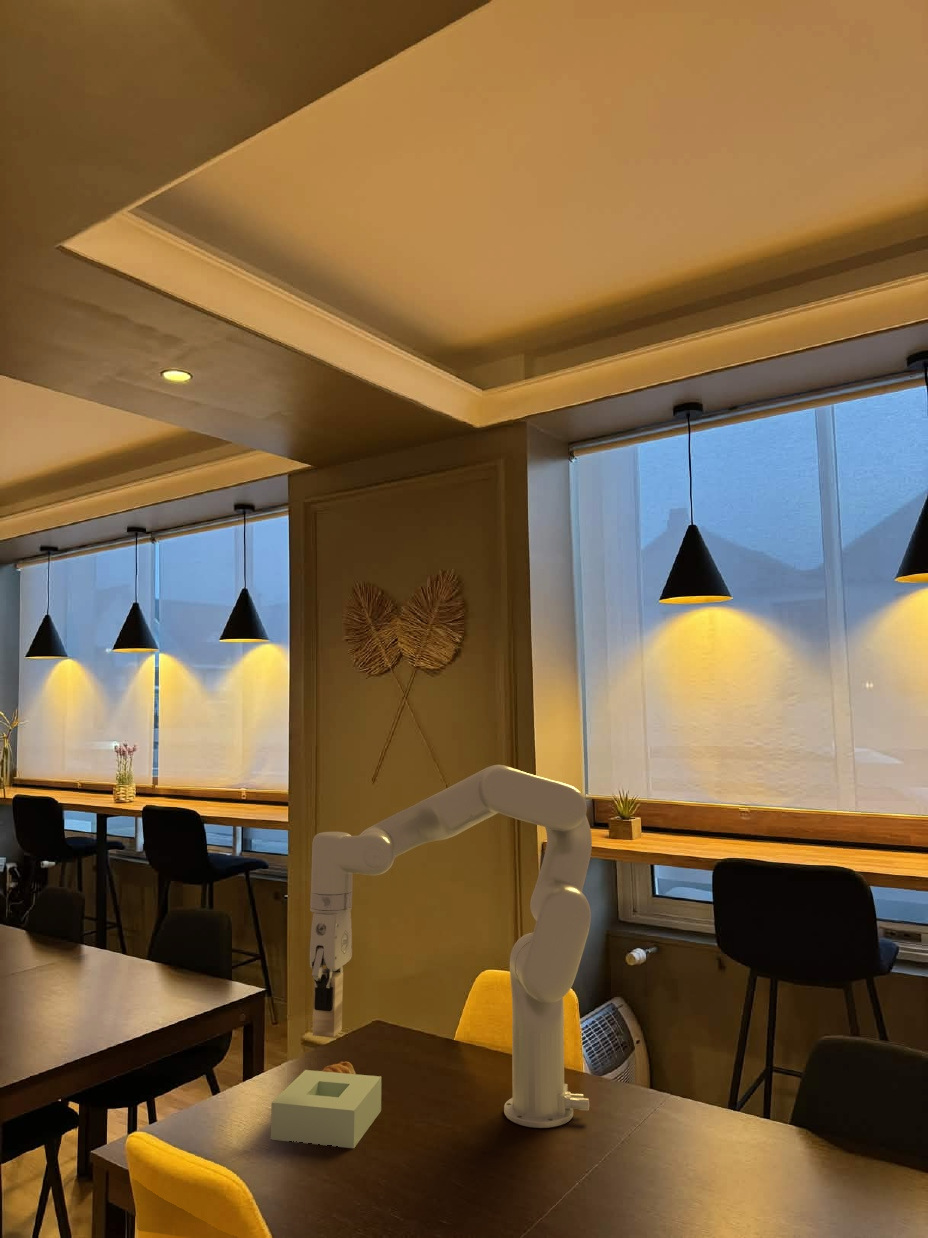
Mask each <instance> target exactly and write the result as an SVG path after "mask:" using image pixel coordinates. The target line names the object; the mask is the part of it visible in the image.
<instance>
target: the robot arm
mask: <svg viewBox="0 0 928 1238" xmlns="http://www.w3.org/2000/svg"><path fill="white" fill-rule="evenodd" d="M587 806H588V804H587V802H586V798H585V797H584V795H583V793H582V792H581V791H580V790H579V789H578V788H576V787H575V786H573V785H570V784H567V783H564V782H562V781H557V780H552V779H549V778H545V777H542V776H537V775H534V774H532V773H527V772H525V771H521V770H519V769H516V768H513V767H511V766H507V765H503V764H494V765H490V766H487V767H485V768H484V769H482V770H479V771H478V772H476V773H474V774H472V775H469V776H468V777H466V778H464V779H462V780H460V781H458V782H457V783H455V784H452V785H451V786H449V787H447V788H444V789H443V790H441V791H439V792H437V793H435V794H432V795H431V796H429V797H428V798H425V799H422V800H420V801H419V802H417V803H415V804H414V805H412V806H410V807H406V808H405V809H403V810H400V811H399V812H396V813H394V814H393V815H390V816H389V817H387V818H385V819H383V820H380V821H378V822H377V823H375V824H373V825H372V826H370V827H368V828H365V830H363V831H362V832H361V833H360V834H359V835H351V834H350V833H348V832H345V831H324V832H319V833H317V834H315V835H314V837H313V839H312V845H311V846H312V849H311V875H310V876H311V877H310V878H311V879H310V880H311V881H310V904H309V906H310V908H309V911H310V912H312V921H311V930H310V940H309V945H310V946H309V967H310V968H311V970H312V972H311V978H313V980H314V979H315V1010H320V1011H331V1010H332V1008H333V987H331V982H332V972H339V973H343V974H344V965H346V964H347V963H349V962H350V961H351V959H352V958H353V933H352V932H353V930H352V928H353V927H352V914H351V911H352V910H353V909H352V907H353V879H354V878H353V875H354V874H357V875H360V874H361V875H363V876H365V875H366V876H379V875H383V874H385V873H386V872H388V871H389V870H391V868H392V866H393V864H394V863H395V859H396V858H397V857H399V856H400V855H402V854H405V853H406V852H408V851H411V850H412V849H414V848H417V847H419V846H422V845H424V844H427V843H430V842H435V841H436V842H437V841H443V840H447V839H450V838H453V837H455V836H457V835H459V834H461V833H463V832H465V831H466V830H468V829H470V828H472V827H474V826H475V825H478V824H479V823H481V822H483V821H485V820H487V819H489V818H492V817H493V816H495V815H497V814H500V815H503V816H505V817H506V816H507V817H509V818H511V819H512V818H513V819H516V820H518V821H523V822H525V823H530V824H533V825H537V826H540V827H544V828H545V831H546V846H545V852H544V857H543V859H542V862H541V863H542V864H541V867H540V870H539V873H538V876H537V879H536V883H535V887H534V889H533V892H532V894H531V897H530V903H529V905H530V907H529V908H530V909H529V910H530V913H531V915H532V917H533V919H534V921H536V922H535V924H534V929H533V932H529V933H525V934H523V935H522V936H521V937H519V938H518V939H517V941H516V942H515V943H514V945H513V946H512V948H511V951H510V956H509V974H510V975H509V977H510V988H511V1008H512V1009H511V1012H512V1013H511V1014H512V1015H511V1019H512V1021H511V1035H512V1036H511V1037H512V1038H511V1039H512V1040H511V1042H512V1043H511V1045H512V1046H511V1049H512V1050H511V1053H512V1056H511V1058H512V1060H511V1061H512V1063H511V1064H512V1065H511V1066H512V1070H511V1071H512V1078H511V1079H512V1080H511V1081H512V1082H511V1083H512V1097H511V1098H509V1099H508V1100H507V1101H506V1102H505V1103H504V1106H503V1112H504V1115H505V1117H506V1118H507V1119H508V1120H510V1121H511V1122H512V1123H515V1124H517V1125H520V1126H523V1127H527V1128H534V1129H537V1128H538V1129H548V1128H555V1127H560V1126H563V1125H565V1124H566V1123H568V1122H570V1121H571V1120H572V1118H573V1117H574V1109H575V1110H579V1111H589V1110H590V1099H589V1098H586V1097H584V1094H583V1093H571V1091H569V1090H568V1089H569V1087H568V1083H565V1044H564V1043H565V1041H564V1040H565V1039H564V1038H565V1037H564V1035H565V1031H564V1029H565V1028H564V1027H565V1016H564V1015H565V1010H564V997H565V996H567V994H568V993H569V991H570V990H571V988H572V987H573V984H574V981H575V979H576V977H577V973H578V970H579V967H580V963H581V959H582V957H583V953H584V951H585V947H586V943H587V939H588V936H589V932H590V927H591V920H592V918H591V917H592V913H591V911H592V910H591V907H590V903H589V901H588V898H587V897H586V895H585V894H584V893H583V890H584V889H583V888H584V886H585V881H586V878H587V873H588V868H589V866H590V865H589V864H590V860H591V855H592V850H593V849H592V847H593V846H592V845H593V844H592V843H593V839H592V838H593V837H592V830H591V826H590V822H589V819H588V816H587V809H588V807H587ZM323 966H326V968H323ZM322 972H323V973H327V978H326V976H325V975H324V974H323V973H322Z"/></svg>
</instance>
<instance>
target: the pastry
mask: <svg viewBox="0 0 928 1238" xmlns="http://www.w3.org/2000/svg"><path fill="white" fill-rule="evenodd" d="M321 1071H323V1072H335V1073H346V1074H357V1073H356V1071H355V1069H354V1067H353V1064H352V1063H351V1062H349V1061H340V1062H339V1063H334V1064H331V1065H326V1066H324V1068H322V1070H321Z"/></svg>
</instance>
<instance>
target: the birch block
mask: <svg viewBox="0 0 928 1238" xmlns="http://www.w3.org/2000/svg"><path fill="white" fill-rule="evenodd" d="M322 973H323V972H322ZM323 974H324V975H325V976H326V978H327V973H323ZM331 987H333V1008H332V1010H331V1011H320V1010H315V979H314V978H313V1004H312V1005H313V1009H312V1010H313V1011H312V1012H313V1013H312V1037H313V1036H314V1037H325V1038H335V1037H336V1036H337V1035H338V1034H339V1033H340V1032H341V1031H342V1030H343V1029H342V1027H343V995H344V993H343V992H344V990H343V987H344V972H343V973H339V972H332V982H331Z"/></svg>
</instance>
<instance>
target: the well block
mask: <svg viewBox="0 0 928 1238" xmlns="http://www.w3.org/2000/svg"><path fill="white" fill-rule="evenodd" d="M381 1111H382V1076H381V1075H379V1076H377V1075H368V1074H367V1075H366V1074H365V1075H364V1074H357V1073H356V1074H346V1073H335V1072H323V1071H322V1070H309V1069H304V1070H303V1072H301V1073H300V1074H299V1075H298V1076H297V1077H296V1078H295V1079H294V1080H293V1081H292V1082H291V1083H290V1084H289V1085H288V1086H287V1087H286V1088H285V1089H283V1090H282V1092H281V1093H280V1094H279V1095H277V1096H276V1097H275V1098H274V1100H272V1101H271V1111H270V1112H271V1115H270V1117H271V1118H270V1140H271V1139H272V1140H273V1141H281V1142H289V1141H292V1143H299V1142H303V1143H302V1144H308V1143H312V1144H311V1145H318V1144H320V1146H327V1145H332V1146H331V1147H336V1146H338V1147H339V1148H347V1149H355V1147H356V1146H357V1145H358V1143H359V1142H360V1141H361V1139H363V1136H364V1135H365V1134H366V1132H367V1131H368V1130H369V1128H370V1126H372V1124H373V1123H374V1121H375V1120H376V1118H377V1117H378V1116H379V1114H380V1113H381ZM272 1140H271V1141H272ZM293 1141H294V1142H293ZM296 1141H297V1142H296ZM338 1147H337V1148H338Z"/></svg>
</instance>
